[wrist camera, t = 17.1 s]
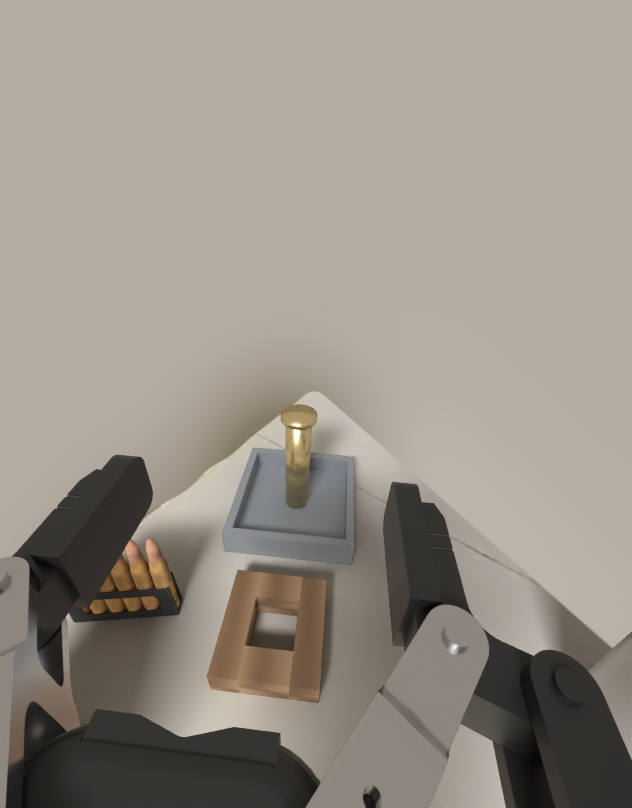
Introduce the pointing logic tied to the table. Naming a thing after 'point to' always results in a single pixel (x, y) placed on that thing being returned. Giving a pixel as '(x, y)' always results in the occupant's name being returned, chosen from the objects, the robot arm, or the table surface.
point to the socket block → (264, 666)
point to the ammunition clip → (134, 589)
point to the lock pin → (298, 452)
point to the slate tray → (293, 510)
